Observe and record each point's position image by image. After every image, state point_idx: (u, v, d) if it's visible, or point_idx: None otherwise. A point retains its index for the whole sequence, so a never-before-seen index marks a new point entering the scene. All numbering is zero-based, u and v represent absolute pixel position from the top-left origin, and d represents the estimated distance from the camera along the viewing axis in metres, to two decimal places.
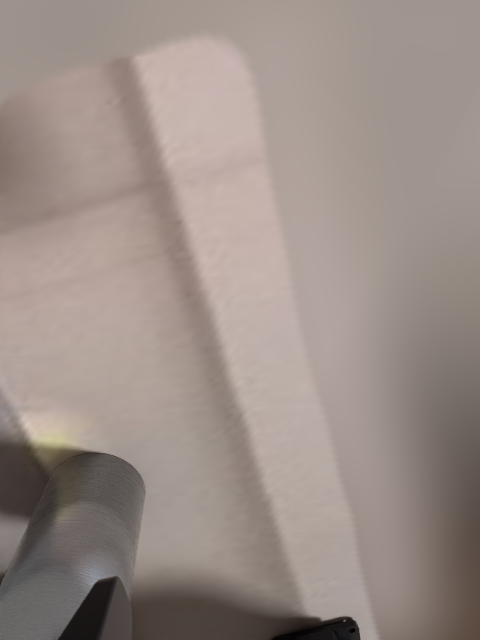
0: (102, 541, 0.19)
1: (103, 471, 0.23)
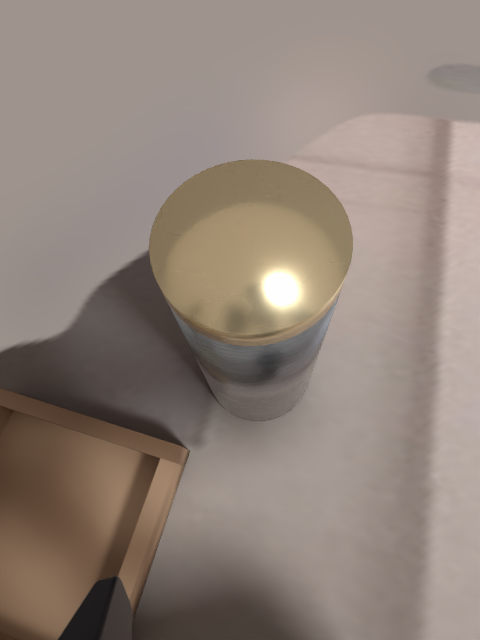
0: None
1: None
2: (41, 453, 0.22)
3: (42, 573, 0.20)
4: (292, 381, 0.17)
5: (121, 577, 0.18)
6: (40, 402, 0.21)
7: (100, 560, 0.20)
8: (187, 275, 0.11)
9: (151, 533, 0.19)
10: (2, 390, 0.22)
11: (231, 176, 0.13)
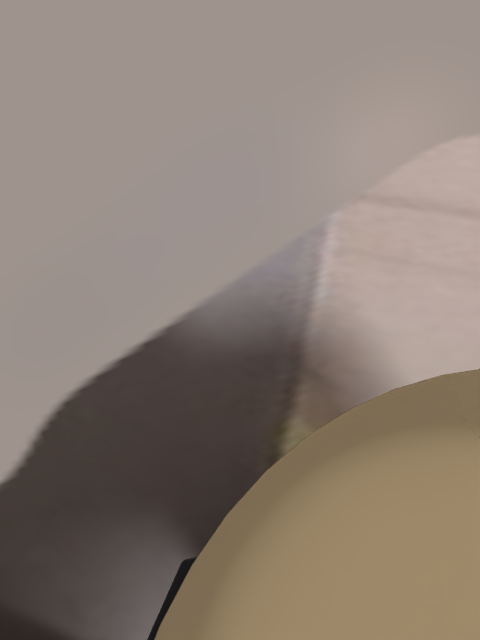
0: None
1: None
2: None
3: None
4: None
5: None
6: None
7: None
8: None
9: None
10: None
11: (473, 455, 0.03)
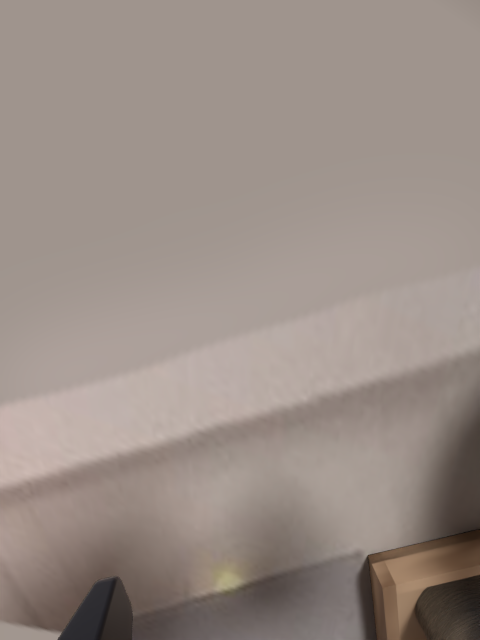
0: None
1: (426, 636, 0.27)
2: (413, 632, 0.29)
3: None
4: None
5: (479, 573, 0.25)
6: None
7: None
8: None
9: (446, 572, 0.25)
10: None
11: None
